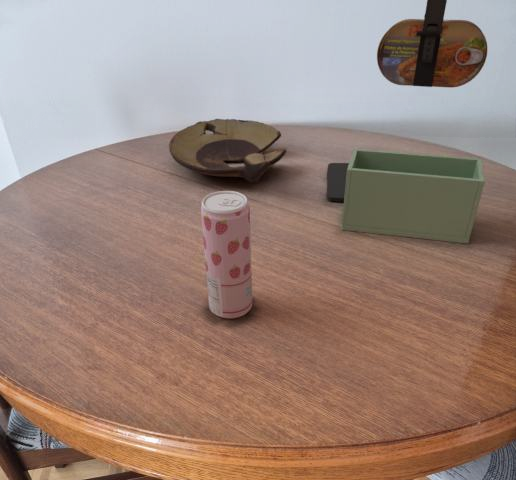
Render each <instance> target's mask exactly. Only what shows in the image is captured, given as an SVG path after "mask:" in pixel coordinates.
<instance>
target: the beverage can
mask: <svg viewBox="0 0 516 480" xmlns="http://www.w3.org/2000/svg"><path fill="white" fill-rule="evenodd" d="M200 215H201V217H200V218H201V229H202V239H203V242H202V243H203V250H204V263H205V277H206V288H207V299H208V308H209V310H210V311H211V313H212V314H214V315H216V316H217V317H219V318H223V319H237V318H240V317H243V316H245V315H246V314H247V313H248V312H250V310H251V309H252V307H253V285H252V284H253V278H252V277H253V276H252V275H253V274H252V246H251V245H252V244H251V243H252V241H251V211H250V204H249V199H248V198H247V197H246V195H245V194H243V193H241V192H238V191H234V190H219V191H215V192H214V191H213V192H211V193H209V194H207V195H205V196H204V197H203V198H202V200H201V207H200Z"/></svg>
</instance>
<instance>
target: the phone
mask: <svg viewBox="0 0 516 480" xmlns="http://www.w3.org/2000/svg"><path fill="white" fill-rule="evenodd" d="M348 165H349V162H330V163H328V164H327V169H326V199H327V201H330V202H343V203H344V197H345V186H346V176H347V168H348Z"/></svg>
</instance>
